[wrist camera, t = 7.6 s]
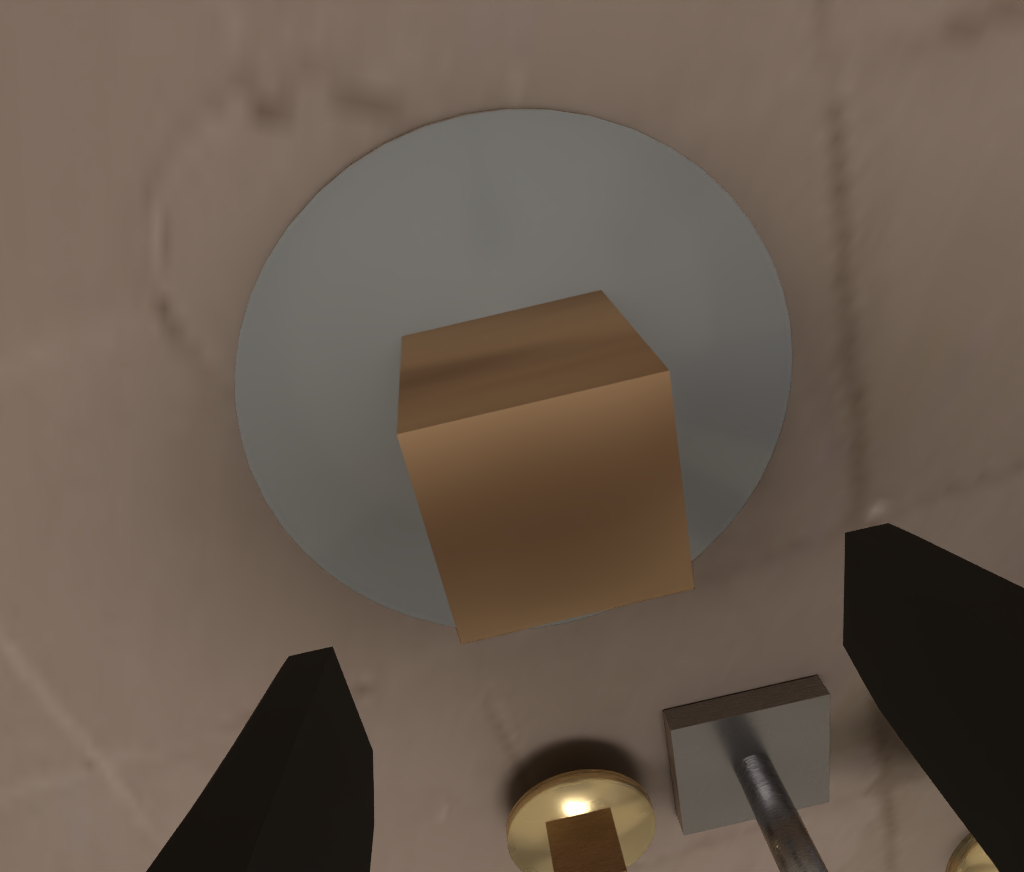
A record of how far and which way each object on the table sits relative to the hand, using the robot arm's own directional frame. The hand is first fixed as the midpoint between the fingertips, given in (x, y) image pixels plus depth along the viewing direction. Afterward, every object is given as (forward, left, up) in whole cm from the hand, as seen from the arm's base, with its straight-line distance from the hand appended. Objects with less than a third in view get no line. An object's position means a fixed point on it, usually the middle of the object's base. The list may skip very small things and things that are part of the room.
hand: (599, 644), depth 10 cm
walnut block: (0, 0, -8) cm, 8 cm away
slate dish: (0, 0, -9) cm, 9 cm away
